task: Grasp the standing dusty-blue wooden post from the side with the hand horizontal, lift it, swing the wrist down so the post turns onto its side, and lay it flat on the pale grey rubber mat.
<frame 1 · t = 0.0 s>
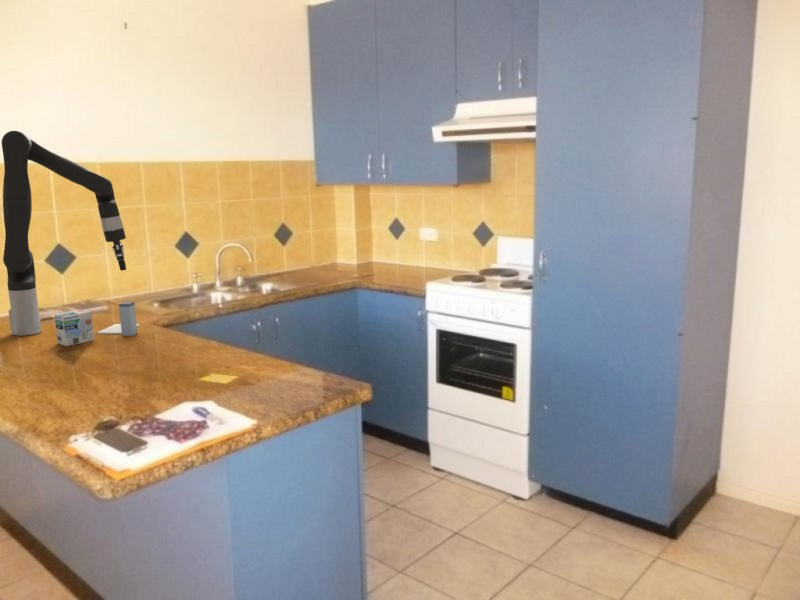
hand: (123, 268, 266), 22 cm above the countertop, tool pointing down, fingers open, 8 cm apart
light bulb box: (76, 342, 243), on the countertop
blue post: (129, 334, 253), on the countertop
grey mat: (119, 329, 260), on the countertop
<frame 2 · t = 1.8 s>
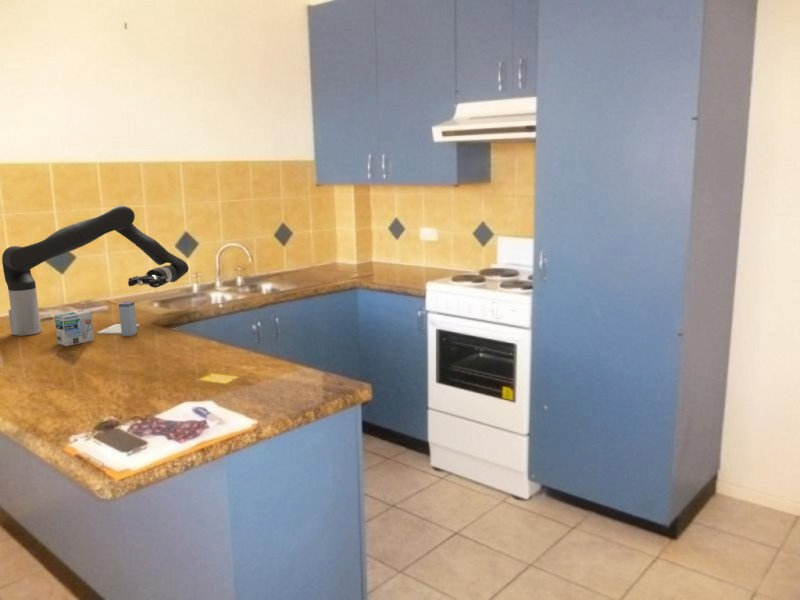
hand: (139, 283, 260), 17 cm above the countertop, tool horizontal, fingers open, 8 cm apart
nothing on the countertop moved.
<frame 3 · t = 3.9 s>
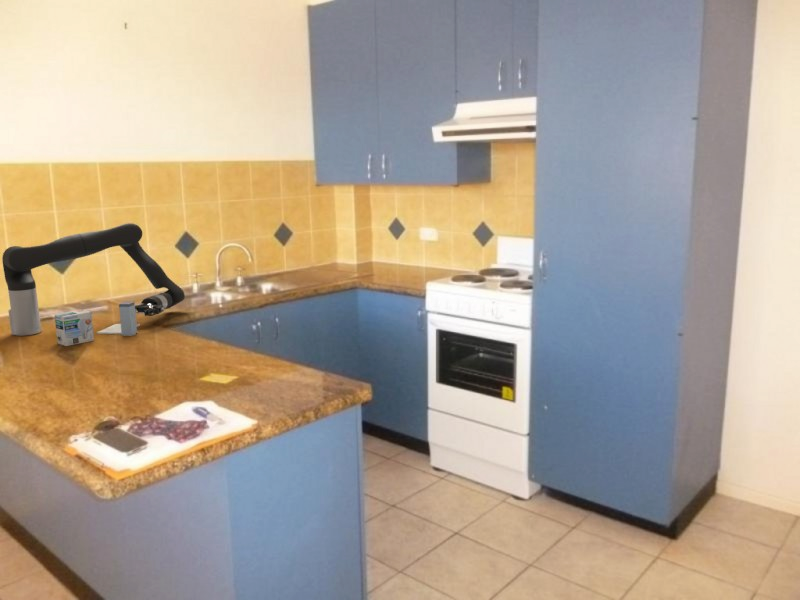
hand: (134, 313, 257), 7 cm above the countertop, tool horizontal, fingers open, 8 cm apart
nothing on the countertop moved.
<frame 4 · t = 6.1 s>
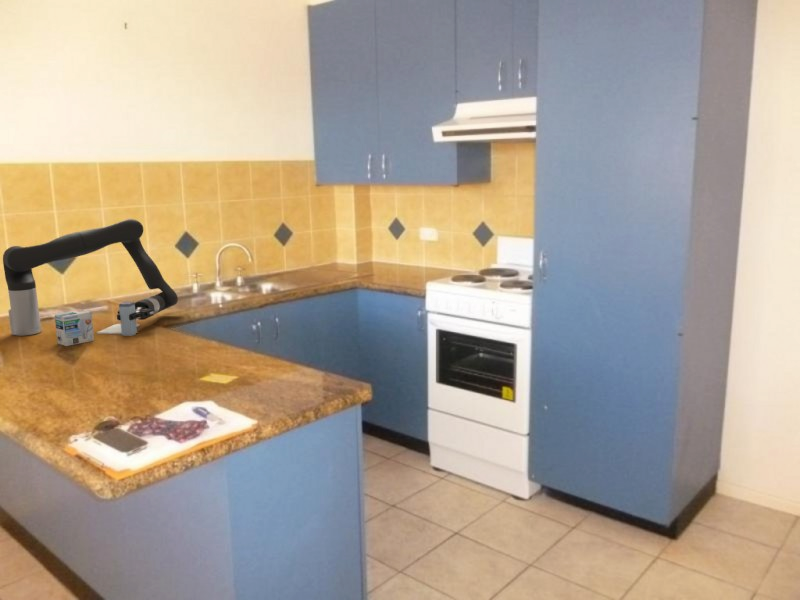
hand: (124, 317, 249), 7 cm above the countertop, tool horizontal, fingers closed on blue post, 4 cm apart
blue post: (129, 334, 253), on the countertop, touching gripper
everything else where it was.
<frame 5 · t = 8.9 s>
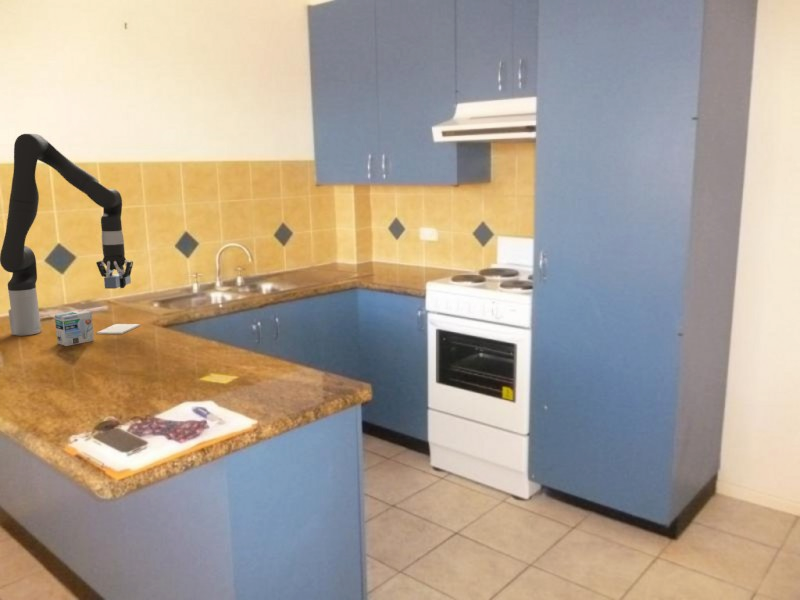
hand: (116, 287, 255), 17 cm above the countertop, tool pointing down, fingers closed on blue post, 4 cm apart
blue post: (125, 278, 262), point 19 cm above the countertop, tilted 90°, touching gripper
everything else where it was.
when the fingers open (2 cm above the countertop, at t = 12.3 s): blue post drops 2 cm, resting on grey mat.
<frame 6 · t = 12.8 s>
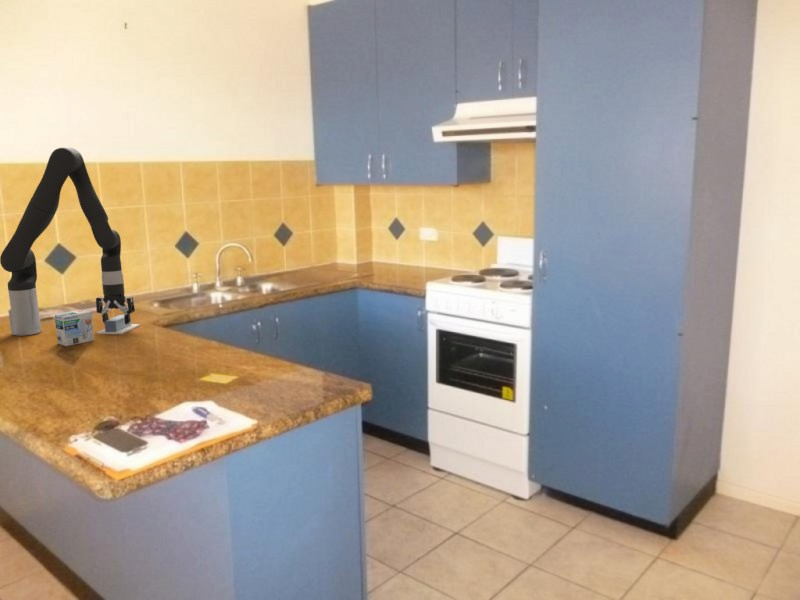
hand: (117, 323, 259), 3 cm above the countertop, tool pointing down, fingers open, 8 cm apart
blue post: (125, 319, 266), point 3 cm above the countertop, tilted 90°, touching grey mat
everything else where it was.
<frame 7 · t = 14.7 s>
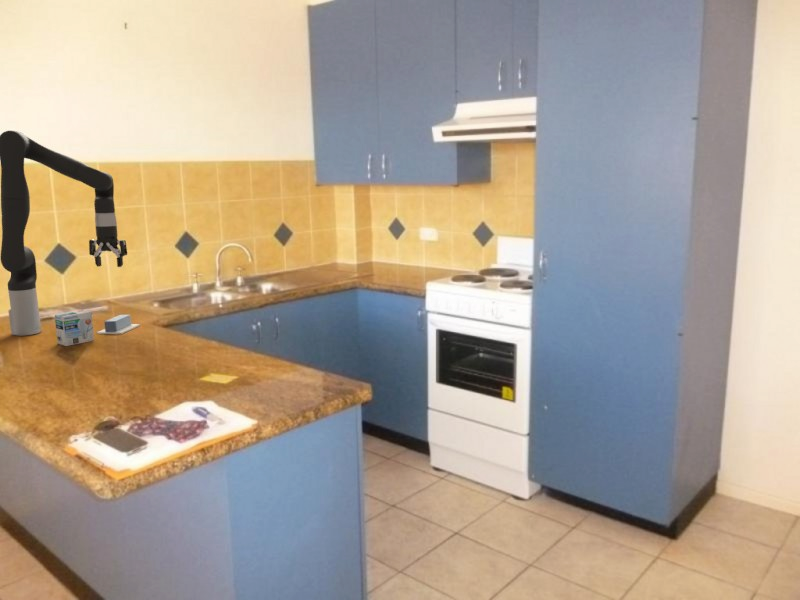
hand: (109, 266, 261), 24 cm above the countertop, tool pointing down, fingers open, 8 cm apart
nothing on the countertop moved.
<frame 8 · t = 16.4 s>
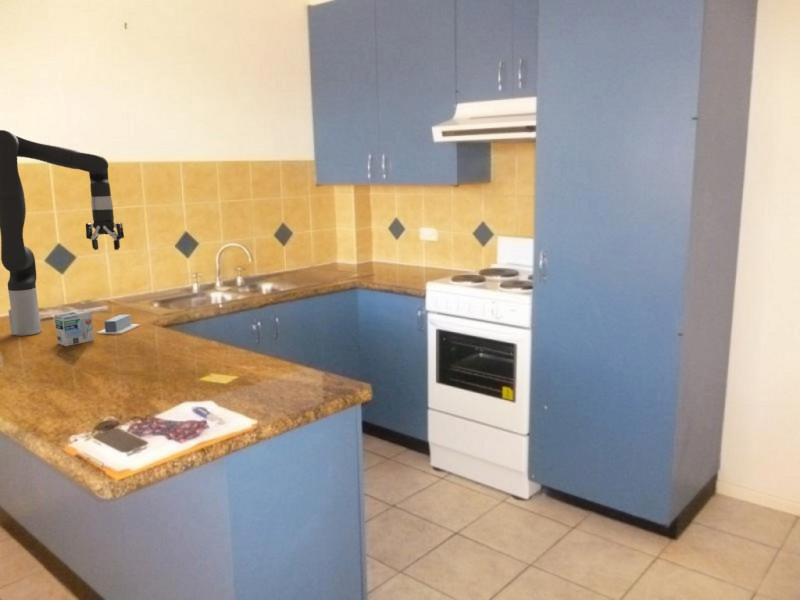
hand: (106, 249, 264), 30 cm above the countertop, tool pointing down, fingers open, 8 cm apart
nothing on the countertop moved.
at the end: blue post tilted 90°; blue post inside the target area on the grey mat (6.1 cm from its centre), point 2.6 cm above the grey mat's base; the gripper is holding nothing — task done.
